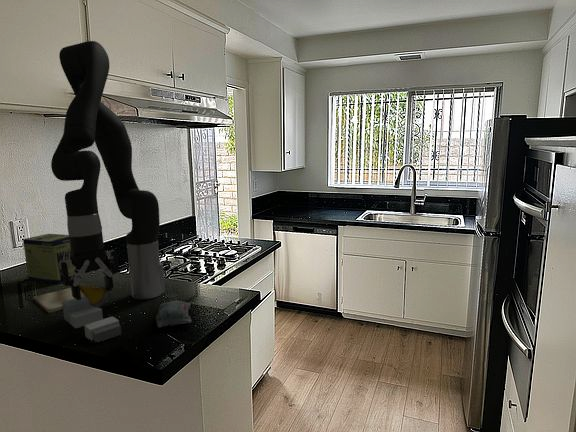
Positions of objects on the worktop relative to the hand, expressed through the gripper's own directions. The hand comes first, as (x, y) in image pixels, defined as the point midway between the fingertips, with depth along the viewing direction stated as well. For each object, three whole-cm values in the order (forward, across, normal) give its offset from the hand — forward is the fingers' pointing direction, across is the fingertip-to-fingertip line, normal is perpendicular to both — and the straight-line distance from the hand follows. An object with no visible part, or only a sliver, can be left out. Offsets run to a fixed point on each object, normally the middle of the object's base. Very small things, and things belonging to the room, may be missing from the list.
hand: (93, 294), depth 106 cm
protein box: (+9, -8, -57) cm, 58 cm away
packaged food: (+10, -15, +12) cm, 22 cm away
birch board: (+9, -1, -29) cm, 31 cm away
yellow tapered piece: (+4, 0, 0) cm, 4 cm away
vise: (+9, +1, -2) cm, 9 cm away
